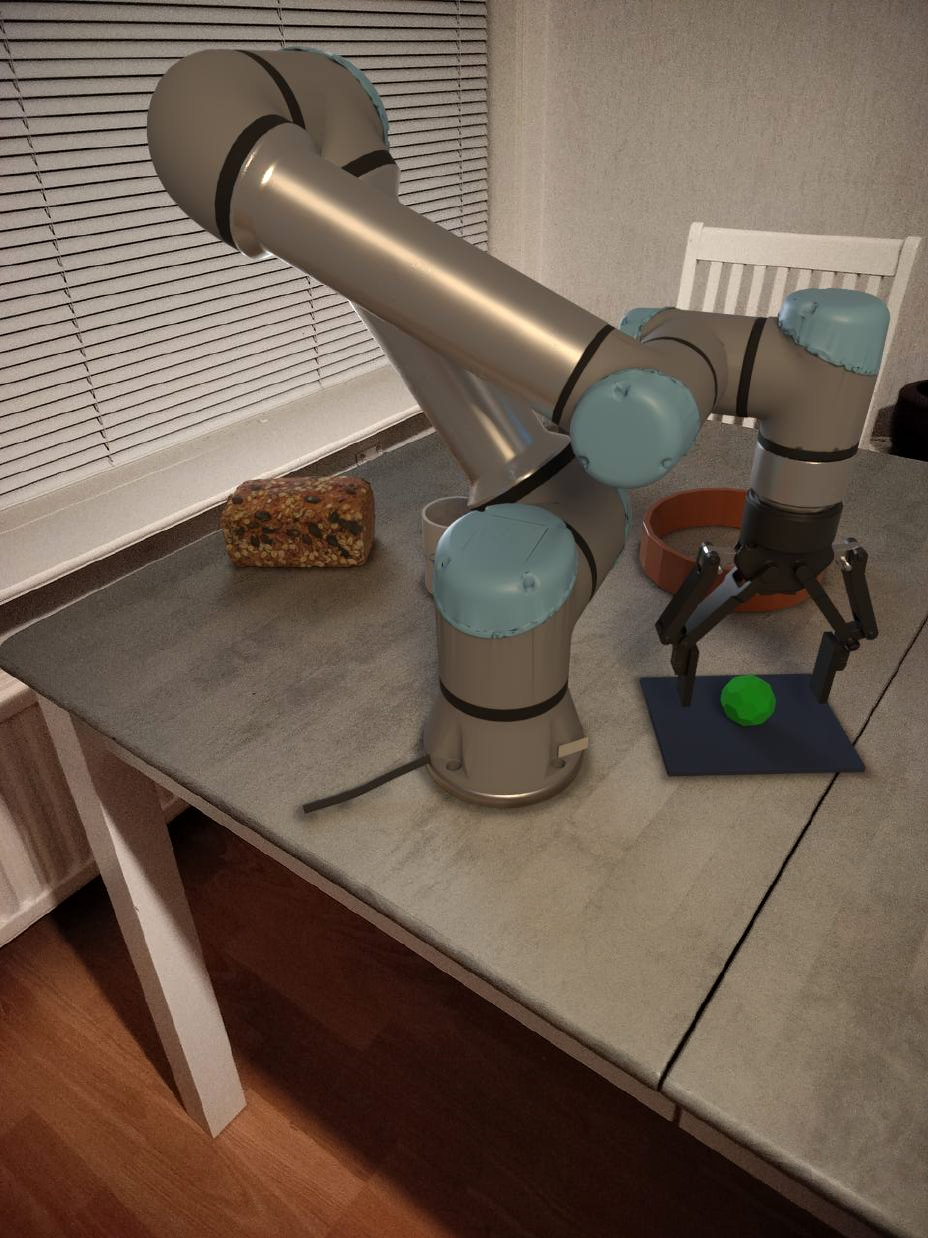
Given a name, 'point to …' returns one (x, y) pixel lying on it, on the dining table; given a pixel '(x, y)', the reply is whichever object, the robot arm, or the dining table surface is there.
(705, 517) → the orange bottomless ring
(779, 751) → the mat
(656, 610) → the dining table surface
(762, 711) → the polyhedron
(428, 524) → the mug
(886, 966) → the dining table surface
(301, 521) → the bread
